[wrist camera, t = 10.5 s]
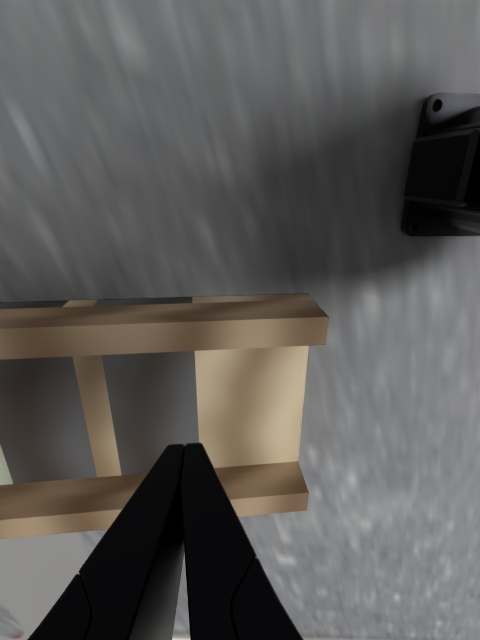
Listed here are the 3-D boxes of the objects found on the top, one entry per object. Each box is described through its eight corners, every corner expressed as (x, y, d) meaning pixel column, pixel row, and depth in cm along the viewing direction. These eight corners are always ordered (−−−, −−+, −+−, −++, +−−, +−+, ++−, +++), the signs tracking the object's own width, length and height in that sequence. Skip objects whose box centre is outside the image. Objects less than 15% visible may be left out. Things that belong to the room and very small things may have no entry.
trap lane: (307, 293, 20) (332, 321, 16) (292, 466, 25) (308, 517, 21) (-230, 309, 17) (-347, 346, 13) (-124, 500, 22) (-188, 565, 18)
